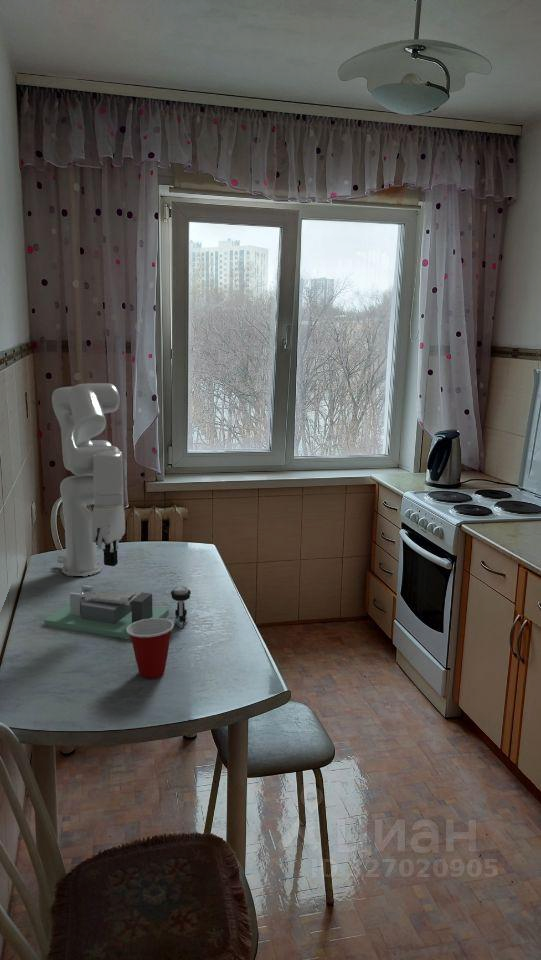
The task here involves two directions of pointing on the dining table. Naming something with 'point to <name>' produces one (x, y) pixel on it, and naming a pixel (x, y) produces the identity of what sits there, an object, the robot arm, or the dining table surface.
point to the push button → (180, 604)
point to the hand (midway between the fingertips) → (110, 564)
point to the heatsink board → (94, 625)
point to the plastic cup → (151, 645)
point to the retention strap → (109, 597)
